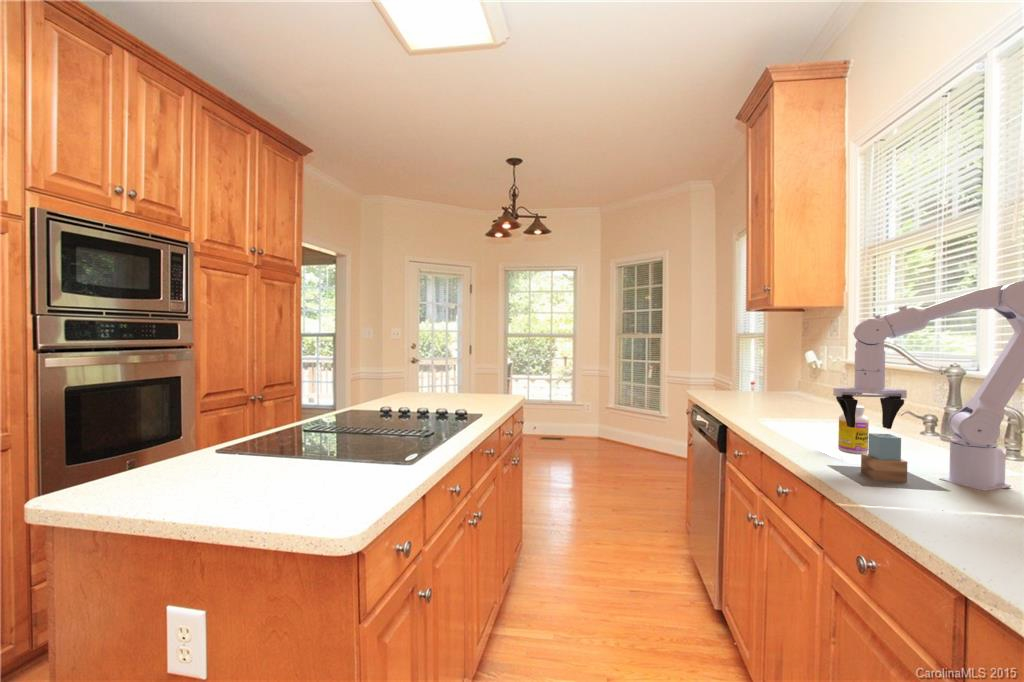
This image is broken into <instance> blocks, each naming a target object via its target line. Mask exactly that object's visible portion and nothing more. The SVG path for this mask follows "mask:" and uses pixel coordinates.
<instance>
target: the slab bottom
mask: <svg viewBox="0 0 1024 682" xmlns="http://www.w3.org/2000/svg"><path fill="white" fill-rule="evenodd" d="M860 467H861V473H863V474H865V475H867V476H869V477H871V478H873V479H875V480H882V481H900V482H907V472H908V471H907V472H901V471H882V470H875V469H873V468H871V467H869V466H867V465H865V464H862V463H861V462H860Z"/></svg>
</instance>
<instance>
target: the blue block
mask: <svg viewBox="0 0 1024 682" xmlns="http://www.w3.org/2000/svg"><path fill="white" fill-rule="evenodd" d="M867 454H868V455H870V456H872V457H874V458H876V459H879V460H895V461H901V459H902V438H901V437H899V436H896V435H893V434H890V433H875V432H873V433H870V432H868V453H867Z"/></svg>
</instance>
